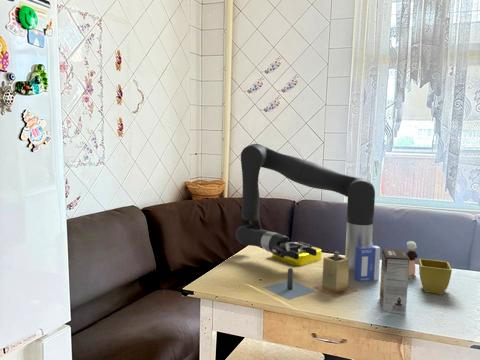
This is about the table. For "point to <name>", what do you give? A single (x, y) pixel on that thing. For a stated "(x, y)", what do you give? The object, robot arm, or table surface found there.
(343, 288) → the bronze sleeve
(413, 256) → the grandmother figurine
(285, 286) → the blue peg stand
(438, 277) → the flower pot
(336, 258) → the walnut stand
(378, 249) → the walkman
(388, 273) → the coffee box
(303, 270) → the table surface
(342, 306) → the table surface
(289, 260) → the element tile
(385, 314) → the table surface
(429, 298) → the table surface
